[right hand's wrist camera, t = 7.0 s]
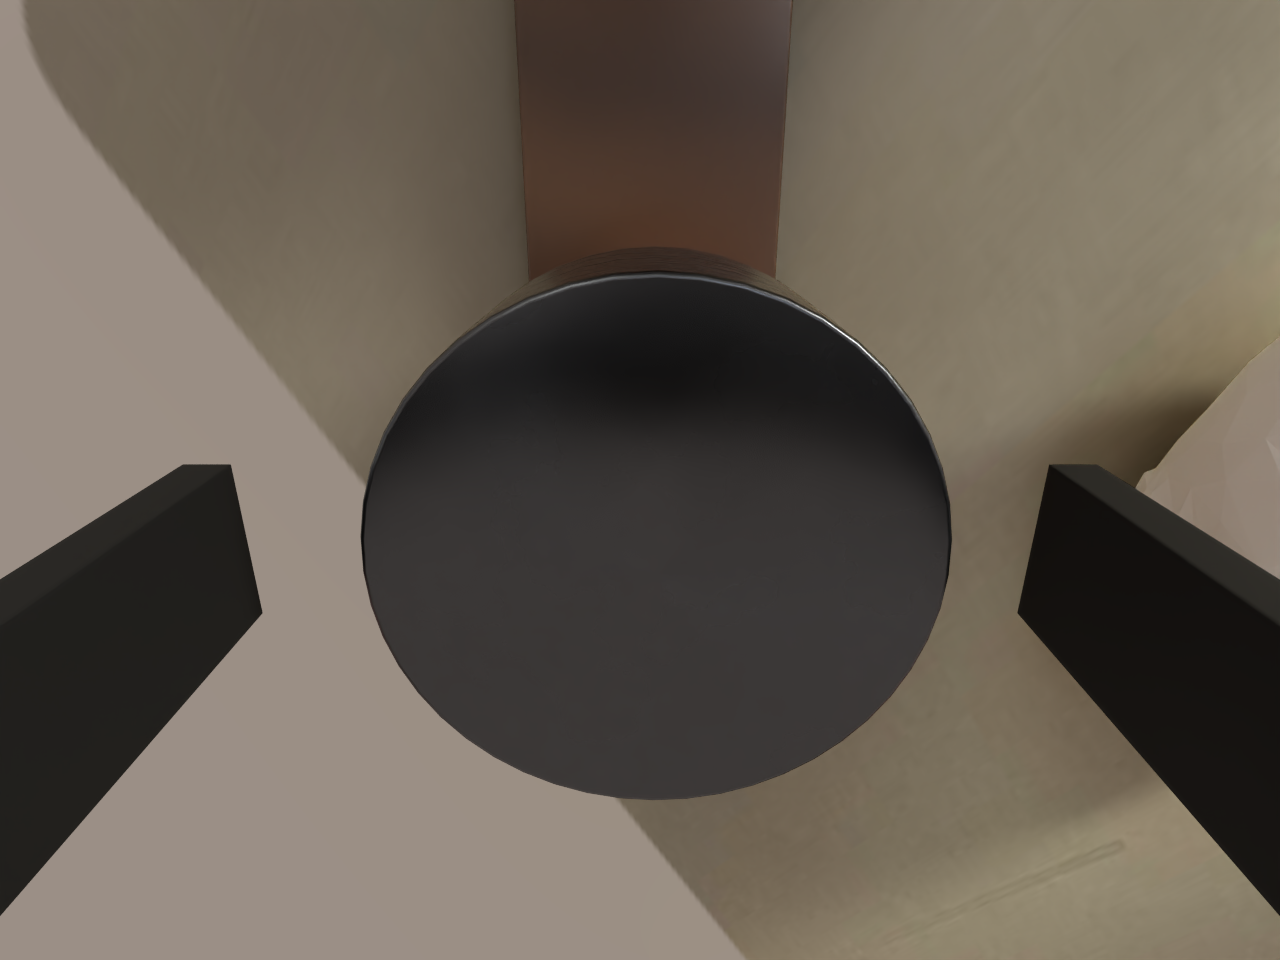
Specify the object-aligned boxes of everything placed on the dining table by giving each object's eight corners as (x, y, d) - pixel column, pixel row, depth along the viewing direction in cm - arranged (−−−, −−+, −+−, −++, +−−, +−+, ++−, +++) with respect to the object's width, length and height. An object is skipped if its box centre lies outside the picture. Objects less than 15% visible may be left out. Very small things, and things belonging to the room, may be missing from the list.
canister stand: (494, -531, 19) (247, -1677, 7) (817, -535, 19) (1094, -1696, 7) (544, 454, 28) (471, 645, 17) (757, 455, 28) (833, 647, 17)
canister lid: (406, 245, 14) (314, 269, 10) (906, 245, 14) (1002, 271, 10) (451, 664, 17) (396, 800, 13) (853, 666, 17) (911, 804, 13)
